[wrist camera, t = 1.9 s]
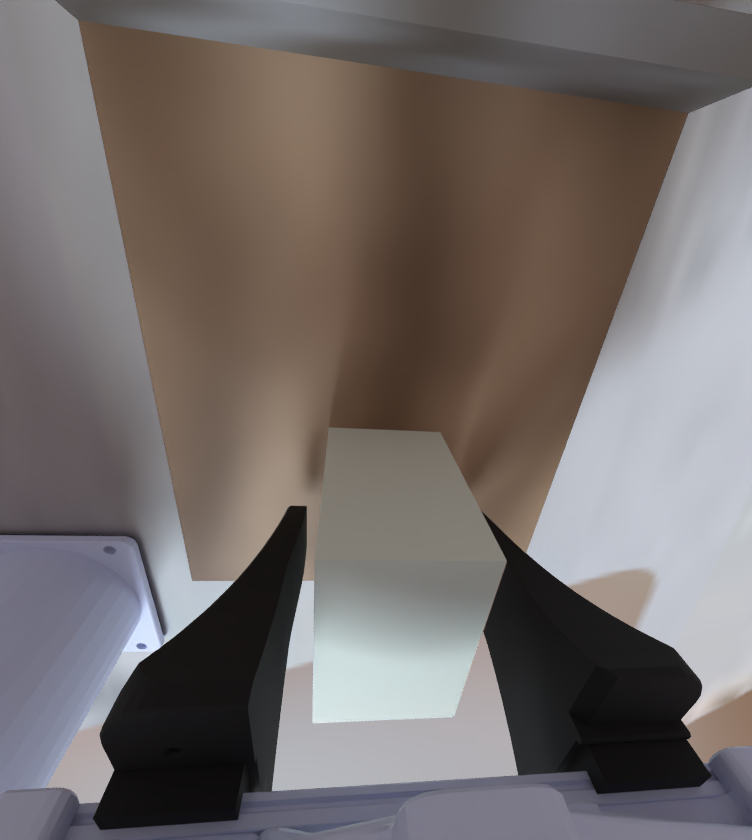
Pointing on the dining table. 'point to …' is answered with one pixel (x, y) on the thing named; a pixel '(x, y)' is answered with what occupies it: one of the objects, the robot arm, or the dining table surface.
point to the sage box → (397, 578)
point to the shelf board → (384, 227)
